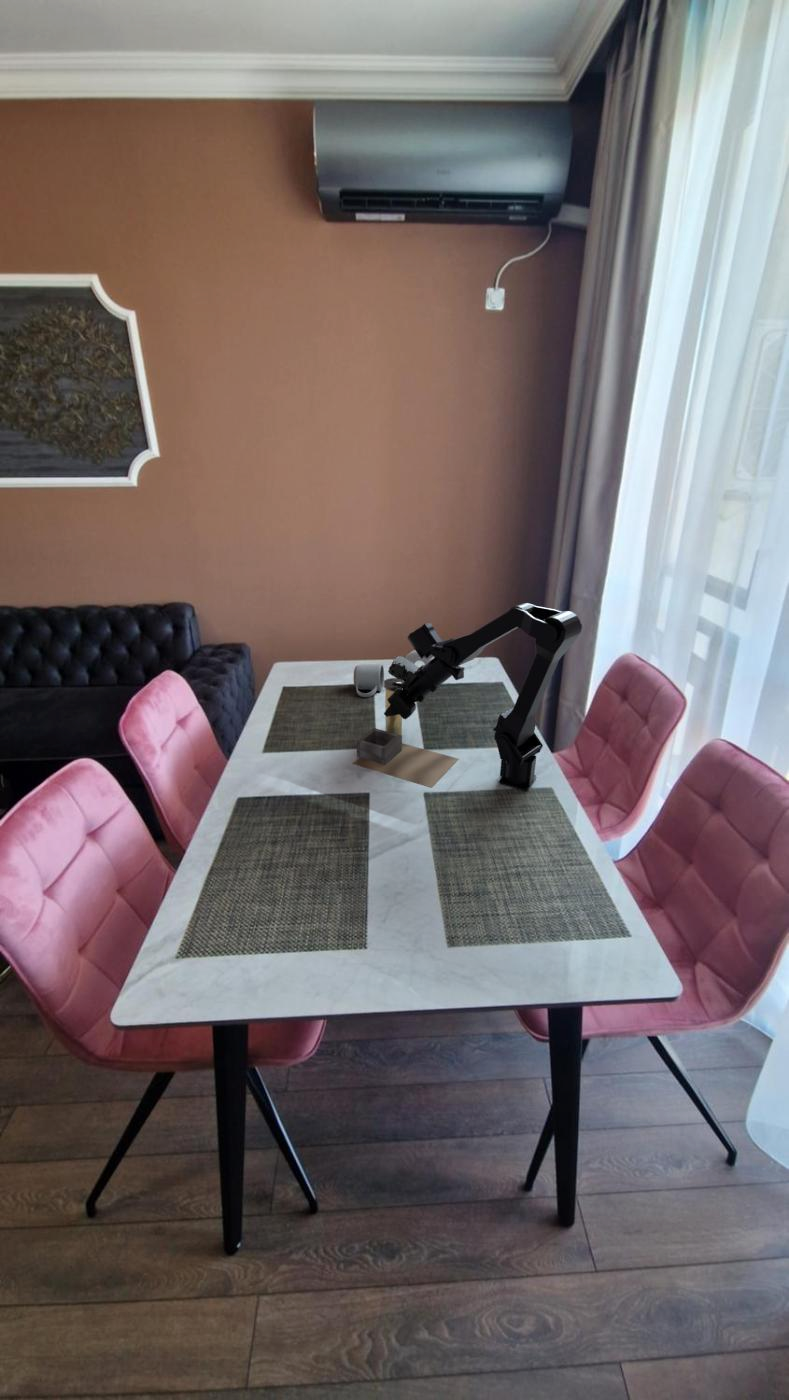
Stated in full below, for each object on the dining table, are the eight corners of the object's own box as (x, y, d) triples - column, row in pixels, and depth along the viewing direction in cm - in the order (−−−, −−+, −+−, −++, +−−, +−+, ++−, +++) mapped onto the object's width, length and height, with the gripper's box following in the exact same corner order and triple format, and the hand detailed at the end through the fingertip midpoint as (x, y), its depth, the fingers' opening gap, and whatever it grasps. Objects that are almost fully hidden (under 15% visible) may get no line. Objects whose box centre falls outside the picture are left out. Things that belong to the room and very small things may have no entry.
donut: (435, 679, 186) (437, 648, 181) (435, 683, 182) (436, 652, 178) (403, 678, 186) (403, 647, 182) (402, 682, 183) (402, 651, 179)
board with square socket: (458, 764, 139) (460, 743, 137) (431, 793, 128) (432, 771, 125) (380, 742, 148) (380, 722, 146) (349, 768, 137) (348, 747, 135)
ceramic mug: (357, 683, 183) (357, 659, 180) (384, 684, 182) (384, 660, 179) (350, 697, 173) (350, 673, 170) (379, 699, 172) (378, 674, 169)
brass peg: (406, 732, 150) (406, 680, 144) (397, 740, 146) (397, 687, 140) (390, 728, 152) (390, 676, 146) (380, 736, 148) (380, 683, 143)
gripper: (422, 636, 147) (379, 673, 154) (396, 661, 131) (350, 701, 138) (452, 670, 147) (408, 705, 155) (430, 700, 131) (383, 737, 139)
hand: (388, 711), depth 147 cm, fingers closed on brass peg, 4 cm apart
